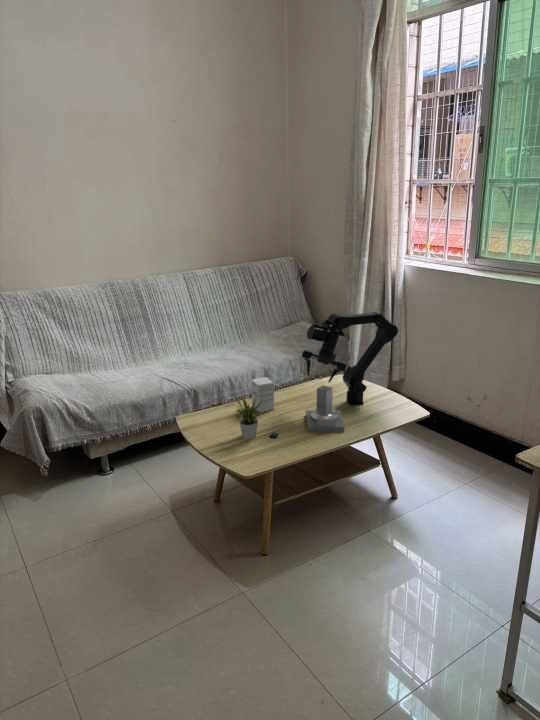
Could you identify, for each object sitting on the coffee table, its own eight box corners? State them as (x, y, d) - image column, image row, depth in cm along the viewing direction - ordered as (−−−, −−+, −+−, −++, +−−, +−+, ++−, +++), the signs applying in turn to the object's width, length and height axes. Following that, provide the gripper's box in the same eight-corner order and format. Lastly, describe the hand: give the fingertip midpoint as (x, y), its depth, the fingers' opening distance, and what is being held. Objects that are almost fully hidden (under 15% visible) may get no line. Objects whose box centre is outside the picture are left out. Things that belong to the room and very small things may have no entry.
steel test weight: (322, 410, 227) (323, 385, 224) (332, 413, 225) (332, 387, 221) (316, 413, 224) (316, 388, 221) (325, 416, 222) (326, 391, 218)
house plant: (220, 439, 211) (218, 399, 206) (238, 425, 223) (237, 387, 217) (253, 447, 205) (251, 406, 200) (270, 432, 216) (270, 393, 211)
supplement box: (251, 406, 240) (250, 379, 236) (267, 403, 243) (266, 376, 239) (258, 413, 234) (257, 385, 230) (274, 409, 237) (274, 382, 232)
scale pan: (336, 410, 230) (336, 407, 230) (339, 422, 220) (339, 419, 219) (309, 410, 230) (309, 408, 230) (311, 422, 220) (311, 419, 219)
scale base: (339, 414, 231) (340, 402, 229) (344, 431, 216) (344, 419, 214) (306, 414, 231) (306, 402, 230) (308, 432, 216) (308, 419, 214)
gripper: (305, 339, 224) (294, 375, 227) (350, 353, 221) (338, 390, 224) (309, 336, 234) (298, 370, 238) (351, 349, 232) (340, 384, 235)
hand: (318, 379), depth 233 cm, fingers open, 9 cm apart
